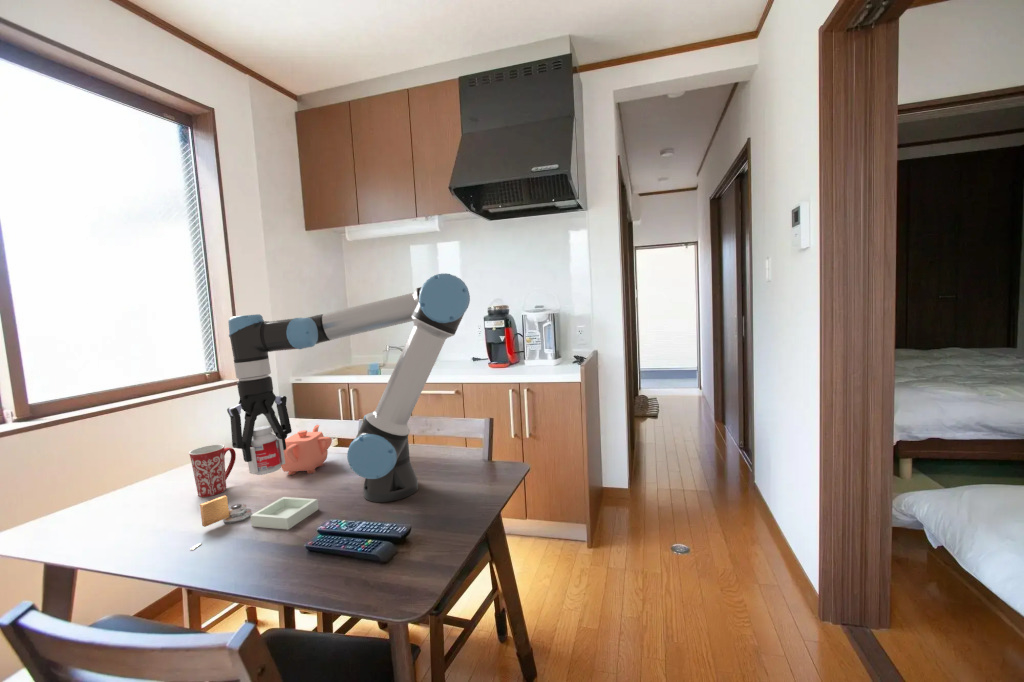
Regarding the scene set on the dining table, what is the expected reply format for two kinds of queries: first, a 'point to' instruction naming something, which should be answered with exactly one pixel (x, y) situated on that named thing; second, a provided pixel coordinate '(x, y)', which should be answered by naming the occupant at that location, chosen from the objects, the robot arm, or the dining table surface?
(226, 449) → the mug
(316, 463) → the pink toy figure
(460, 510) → the dining table surface
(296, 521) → the tray
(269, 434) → the pill bottle
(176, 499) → the dining table surface
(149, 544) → the dining table surface
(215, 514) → the tan and grey pieces
